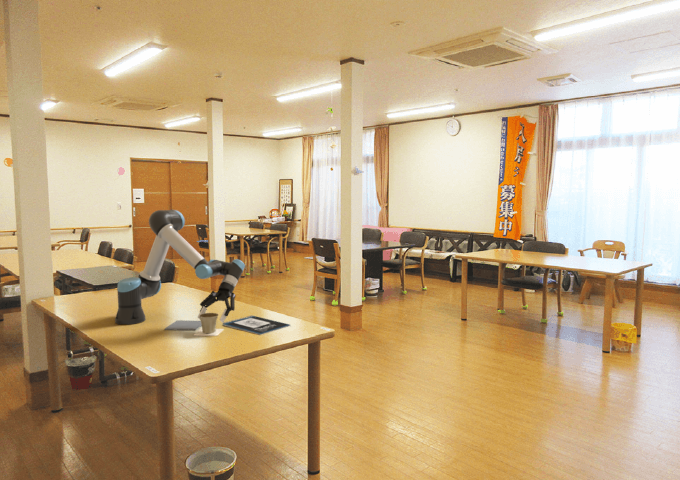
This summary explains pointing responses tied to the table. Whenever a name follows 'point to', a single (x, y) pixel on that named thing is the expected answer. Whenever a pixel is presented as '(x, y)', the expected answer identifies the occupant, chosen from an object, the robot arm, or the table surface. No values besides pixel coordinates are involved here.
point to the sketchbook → (255, 325)
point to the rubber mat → (184, 325)
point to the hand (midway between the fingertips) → (210, 319)
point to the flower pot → (208, 322)
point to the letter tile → (200, 333)
